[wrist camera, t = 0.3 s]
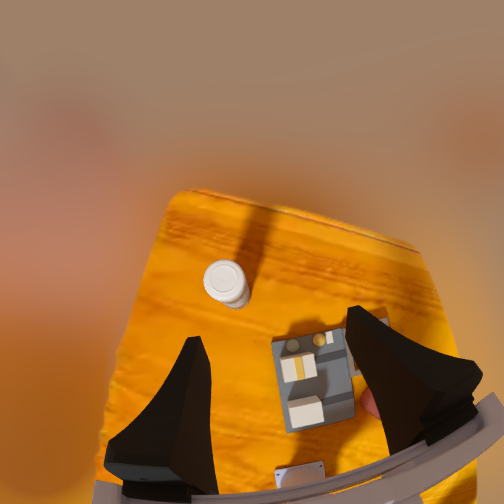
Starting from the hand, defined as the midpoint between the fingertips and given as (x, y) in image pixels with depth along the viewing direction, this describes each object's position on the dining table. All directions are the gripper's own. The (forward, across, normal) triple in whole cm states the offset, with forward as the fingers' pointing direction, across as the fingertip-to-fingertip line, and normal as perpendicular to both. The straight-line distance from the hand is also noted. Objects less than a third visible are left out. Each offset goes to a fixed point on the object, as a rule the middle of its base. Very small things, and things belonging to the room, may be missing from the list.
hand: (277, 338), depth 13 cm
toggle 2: (+12, -4, +28) cm, 31 cm away
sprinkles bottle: (+26, +3, +15) cm, 30 cm away
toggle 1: (+17, -4, +23) cm, 29 cm away
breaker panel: (+15, -6, +26) cm, 31 cm away
